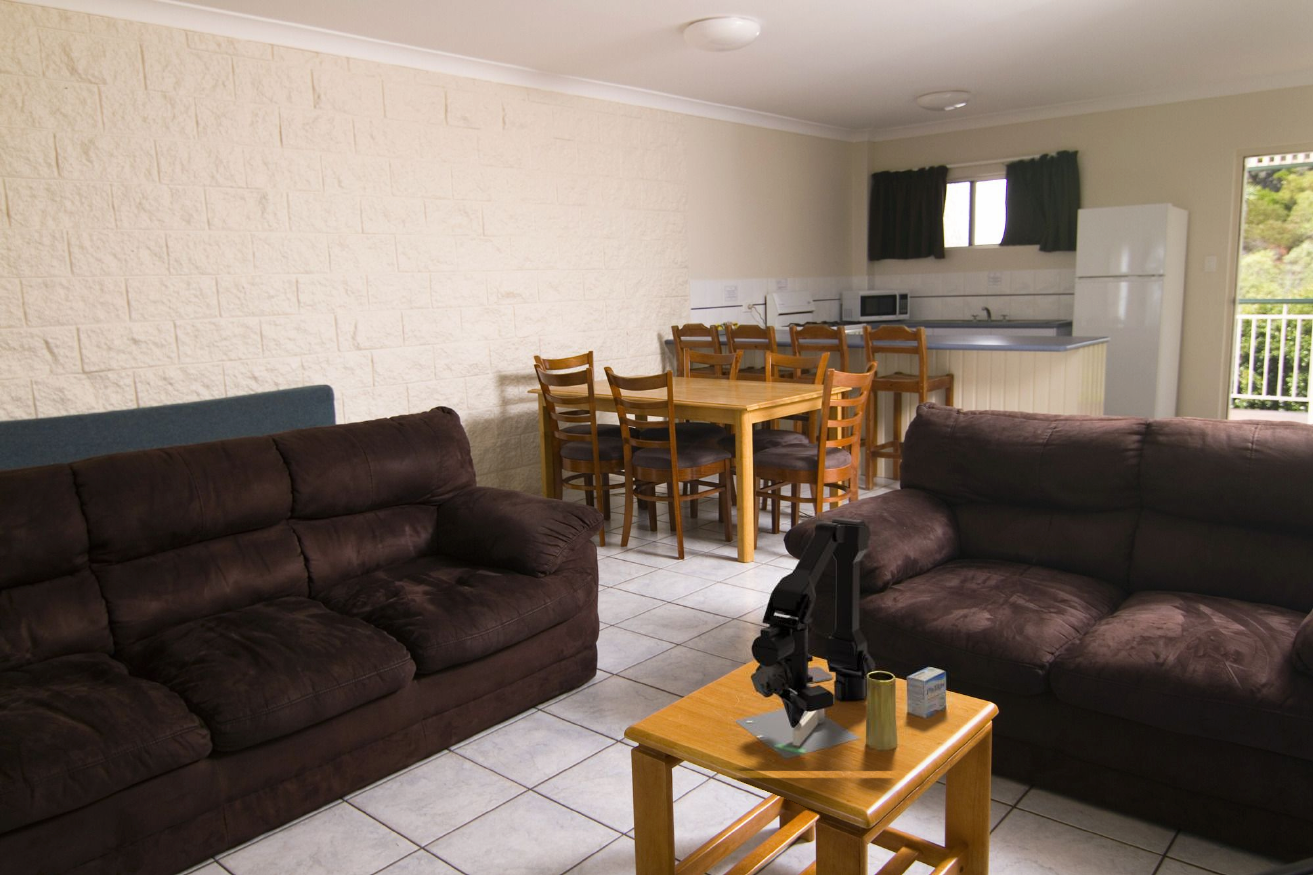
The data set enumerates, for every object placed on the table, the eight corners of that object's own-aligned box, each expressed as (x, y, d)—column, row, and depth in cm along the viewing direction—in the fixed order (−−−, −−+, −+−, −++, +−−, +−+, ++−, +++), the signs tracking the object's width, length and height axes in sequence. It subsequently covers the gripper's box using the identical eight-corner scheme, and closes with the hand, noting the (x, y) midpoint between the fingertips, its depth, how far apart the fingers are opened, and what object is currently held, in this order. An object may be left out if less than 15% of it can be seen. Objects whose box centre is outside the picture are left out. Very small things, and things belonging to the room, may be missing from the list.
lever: (812, 716, 186) (812, 702, 185) (826, 719, 184) (826, 704, 184) (788, 743, 174) (788, 728, 174) (803, 746, 173) (803, 731, 172)
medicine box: (925, 722, 184) (925, 681, 183) (906, 716, 187) (906, 675, 186) (946, 711, 189) (946, 670, 188) (927, 705, 193) (927, 665, 191)
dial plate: (803, 707, 193) (803, 702, 193) (860, 742, 176) (860, 737, 176) (734, 725, 186) (733, 720, 186) (786, 763, 169) (785, 757, 169)
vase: (892, 758, 170) (891, 684, 168) (860, 751, 173) (859, 678, 171) (902, 744, 175) (901, 673, 173) (871, 738, 178) (870, 667, 176)
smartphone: (761, 677, 210) (817, 665, 215) (761, 680, 210) (817, 669, 215) (776, 688, 203) (834, 676, 208) (776, 692, 203) (834, 680, 208)
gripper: (731, 642, 180) (733, 717, 182) (784, 674, 163) (785, 757, 165) (779, 632, 185) (781, 706, 187) (835, 662, 168) (836, 742, 170)
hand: (794, 727), depth 177 cm, fingers closed
